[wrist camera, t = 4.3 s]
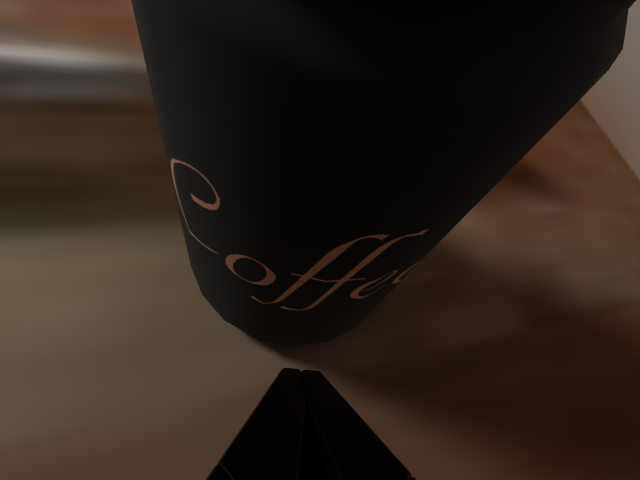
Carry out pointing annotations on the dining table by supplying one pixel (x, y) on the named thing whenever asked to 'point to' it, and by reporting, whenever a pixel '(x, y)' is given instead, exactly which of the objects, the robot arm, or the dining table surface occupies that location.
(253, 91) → the coffee jar
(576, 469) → the dining table surface
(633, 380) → the dining table surface
